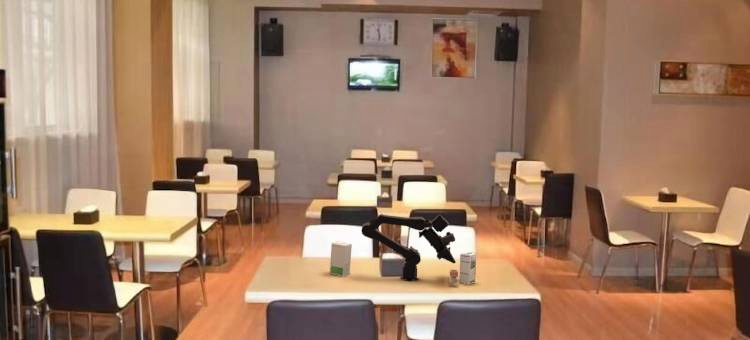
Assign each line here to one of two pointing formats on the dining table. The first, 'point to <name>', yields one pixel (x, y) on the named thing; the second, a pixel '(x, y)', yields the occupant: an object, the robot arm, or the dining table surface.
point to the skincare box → (340, 258)
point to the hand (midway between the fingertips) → (455, 262)
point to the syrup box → (467, 268)
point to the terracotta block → (454, 273)
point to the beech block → (453, 281)
